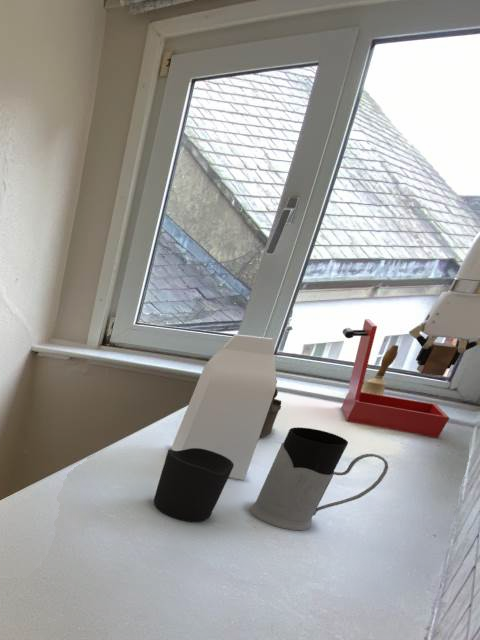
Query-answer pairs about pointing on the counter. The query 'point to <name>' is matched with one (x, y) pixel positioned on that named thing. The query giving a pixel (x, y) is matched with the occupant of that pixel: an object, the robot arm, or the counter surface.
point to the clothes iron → (271, 415)
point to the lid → (361, 355)
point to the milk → (231, 402)
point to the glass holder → (303, 478)
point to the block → (438, 359)
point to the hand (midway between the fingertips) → (433, 365)
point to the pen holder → (191, 483)
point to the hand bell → (380, 373)
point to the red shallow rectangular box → (395, 414)
